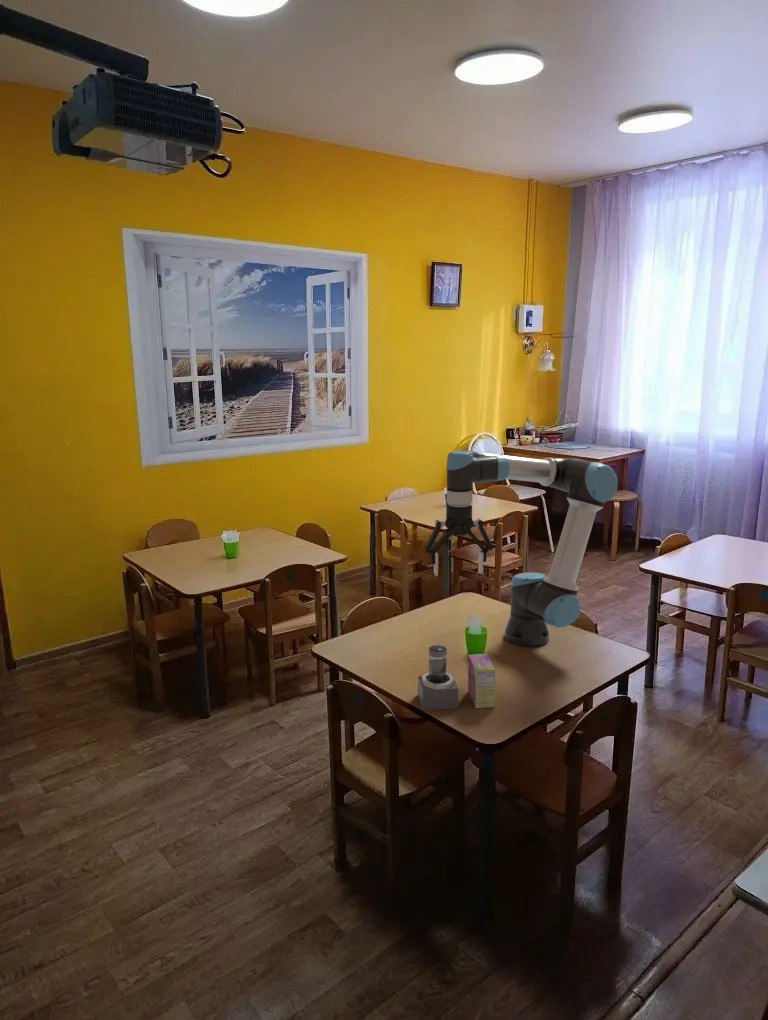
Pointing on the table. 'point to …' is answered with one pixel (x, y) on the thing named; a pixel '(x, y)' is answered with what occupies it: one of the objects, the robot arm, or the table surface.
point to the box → (481, 680)
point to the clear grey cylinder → (437, 664)
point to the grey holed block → (437, 693)
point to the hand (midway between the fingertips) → (458, 573)
